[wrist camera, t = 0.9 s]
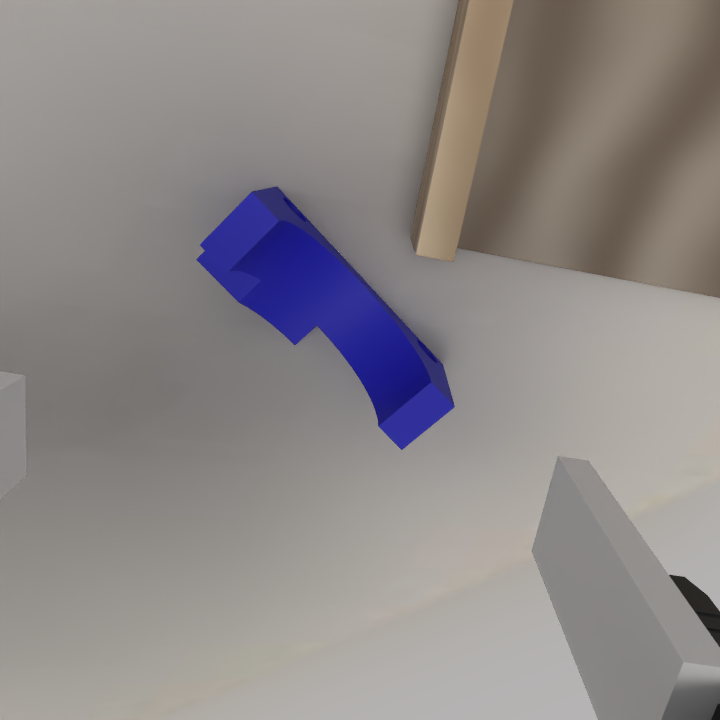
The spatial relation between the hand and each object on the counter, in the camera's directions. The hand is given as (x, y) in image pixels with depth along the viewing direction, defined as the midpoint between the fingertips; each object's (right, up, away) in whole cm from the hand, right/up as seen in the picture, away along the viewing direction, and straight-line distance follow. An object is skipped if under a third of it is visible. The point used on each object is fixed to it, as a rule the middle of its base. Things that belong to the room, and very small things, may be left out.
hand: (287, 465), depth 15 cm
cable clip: (0, +5, +16) cm, 17 cm away
